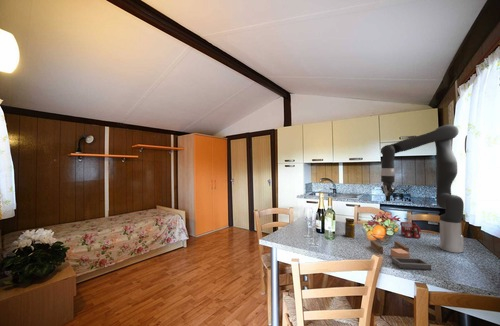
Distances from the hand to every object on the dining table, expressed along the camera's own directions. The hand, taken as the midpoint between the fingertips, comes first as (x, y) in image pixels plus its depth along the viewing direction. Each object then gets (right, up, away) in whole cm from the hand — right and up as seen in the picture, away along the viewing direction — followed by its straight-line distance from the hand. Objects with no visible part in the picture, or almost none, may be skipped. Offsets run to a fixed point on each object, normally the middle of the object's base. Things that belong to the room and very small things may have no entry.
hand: (387, 201), depth 135 cm
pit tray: (-11, -27, -33) cm, 44 cm away
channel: (-9, -27, -15) cm, 32 cm away
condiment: (-21, -27, +9) cm, 36 cm away
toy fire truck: (+23, -28, +10) cm, 37 cm away
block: (-10, -27, -24) cm, 37 cm away
